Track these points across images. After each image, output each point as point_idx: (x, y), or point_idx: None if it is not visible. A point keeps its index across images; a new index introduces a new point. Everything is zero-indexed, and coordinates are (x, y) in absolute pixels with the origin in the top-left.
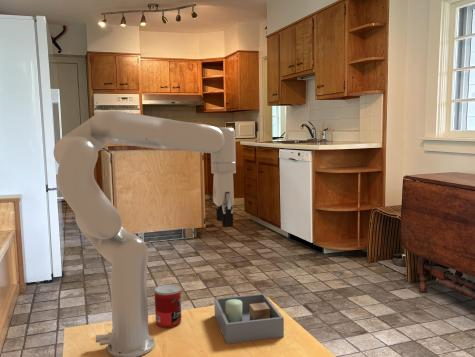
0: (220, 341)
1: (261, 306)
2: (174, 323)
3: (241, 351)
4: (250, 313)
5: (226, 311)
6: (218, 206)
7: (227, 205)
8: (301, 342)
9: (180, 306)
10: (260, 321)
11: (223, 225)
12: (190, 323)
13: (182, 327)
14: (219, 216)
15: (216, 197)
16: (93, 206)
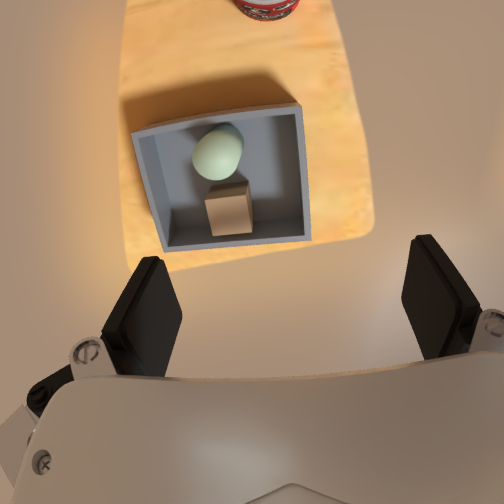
0: (159, 112)
1: (226, 220)
2: (238, 7)
3: (121, 152)
4: (239, 188)
5: (208, 133)
6: (102, 375)
7: (15, 414)
8: (156, 254)
9: (256, 13)
10: (150, 206)
11: (142, 266)
12: (257, 42)
13: (236, 26)
14: (422, 274)
15: (113, 502)
16: None
